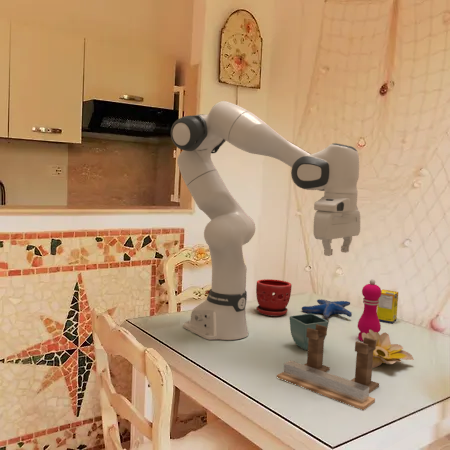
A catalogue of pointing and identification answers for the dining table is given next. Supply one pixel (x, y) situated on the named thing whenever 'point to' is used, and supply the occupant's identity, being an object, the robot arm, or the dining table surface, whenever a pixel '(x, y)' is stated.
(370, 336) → the decorative flower
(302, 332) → the flower pot
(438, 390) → the dining table surface
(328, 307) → the starfish
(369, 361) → the walnut post
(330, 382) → the steel rail
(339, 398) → the light wood flat board
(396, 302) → the supplement box
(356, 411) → the dining table surface
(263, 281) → the plant pot
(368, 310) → the pepper mill
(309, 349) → the walnut post
